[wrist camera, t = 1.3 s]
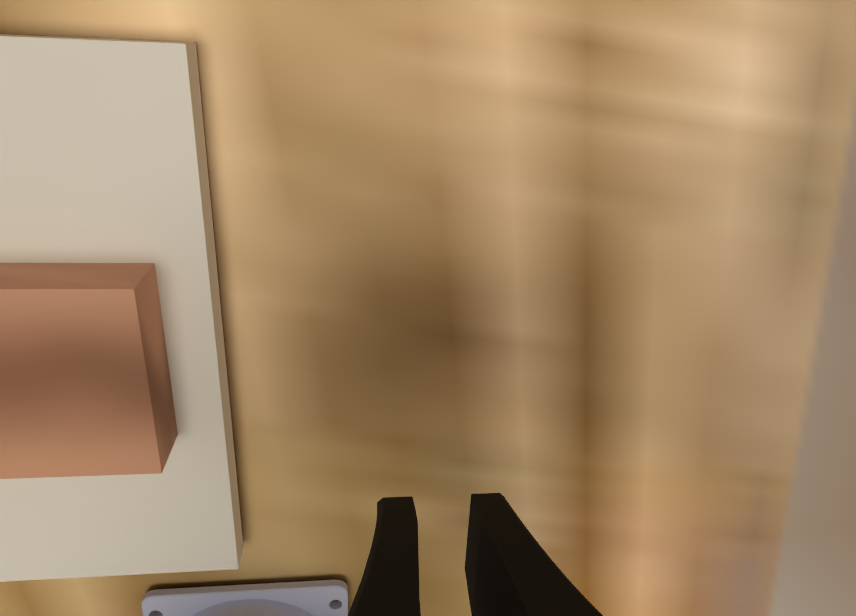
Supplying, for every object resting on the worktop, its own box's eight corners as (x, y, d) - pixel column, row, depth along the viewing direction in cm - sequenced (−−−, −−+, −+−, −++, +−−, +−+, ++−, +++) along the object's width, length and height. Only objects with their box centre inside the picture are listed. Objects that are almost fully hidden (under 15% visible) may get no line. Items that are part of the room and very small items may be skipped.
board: (243, 545, 25) (238, 569, 24) (-125, 563, 23) (-149, 589, 22) (195, 42, 18) (185, 43, 17) (-343, 19, 16) (-392, 19, 15)
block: (177, 434, 21) (161, 473, 19) (-87, 442, 20) (-129, 483, 18) (154, 263, 19) (133, 289, 17) (-147, 262, 18) (-203, 289, 16)
